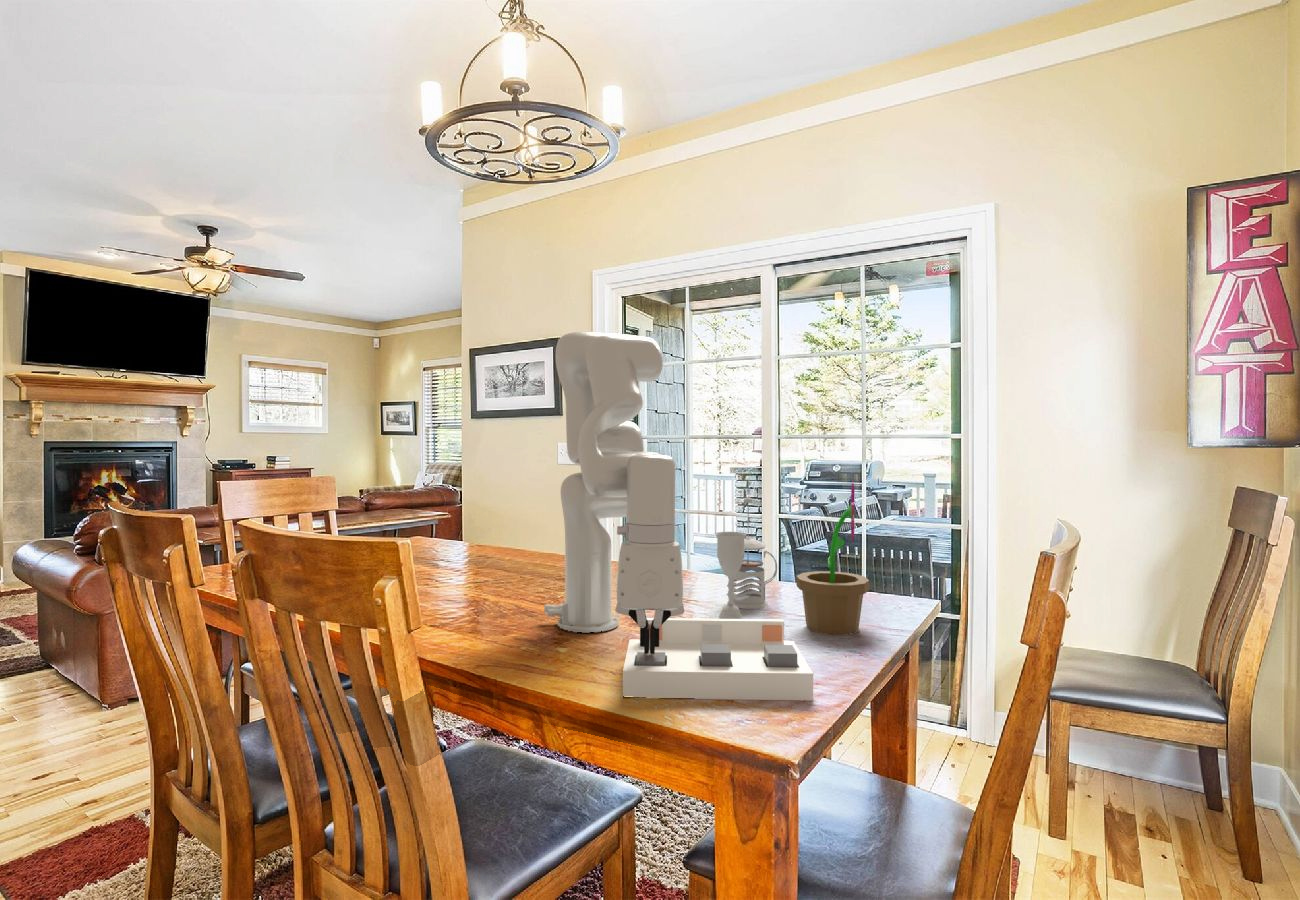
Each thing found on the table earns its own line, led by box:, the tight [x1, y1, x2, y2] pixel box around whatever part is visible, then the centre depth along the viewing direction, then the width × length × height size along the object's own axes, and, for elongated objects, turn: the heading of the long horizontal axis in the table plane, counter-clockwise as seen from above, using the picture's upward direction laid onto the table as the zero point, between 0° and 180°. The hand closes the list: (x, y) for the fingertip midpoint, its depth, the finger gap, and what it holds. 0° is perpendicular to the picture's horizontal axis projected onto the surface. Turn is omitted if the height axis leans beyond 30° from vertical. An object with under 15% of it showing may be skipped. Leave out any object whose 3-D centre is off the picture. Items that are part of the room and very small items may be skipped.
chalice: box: [714, 531, 748, 619], centre depth 145 cm, size 7×7×18 cm
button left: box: [636, 652, 665, 666], centre depth 104 cm, size 4×4×3 cm
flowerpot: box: [796, 481, 870, 636], centre depth 137 cm, size 14×14×30 cm
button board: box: [622, 617, 814, 702], centre depth 107 cm, size 28×16×8 cm, turn 88°
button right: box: [764, 645, 797, 668], centre depth 103 cm, size 4×4×3 cm
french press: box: [726, 496, 778, 610], centre depth 157 cm, size 10×12×25 cm
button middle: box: [701, 644, 731, 667], centre depth 104 cm, size 4×4×3 cm
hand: (649, 650), depth 105 cm, fingers closed
